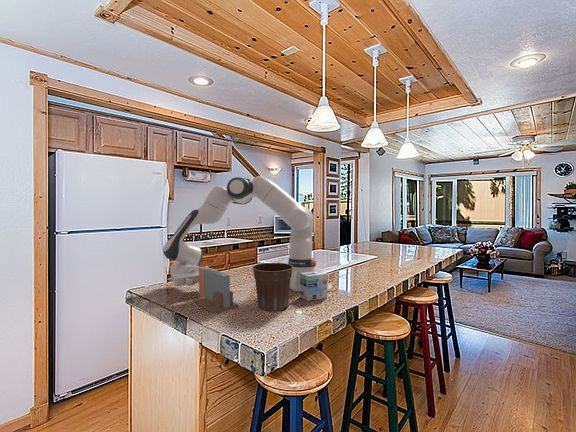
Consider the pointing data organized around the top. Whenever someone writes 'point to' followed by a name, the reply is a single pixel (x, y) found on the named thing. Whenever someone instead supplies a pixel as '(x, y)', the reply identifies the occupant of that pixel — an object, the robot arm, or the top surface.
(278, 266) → the plant pot
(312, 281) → the light bulb box
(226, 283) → the ticket holder
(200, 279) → the stub
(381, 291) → the top surface
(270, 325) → the top surface
